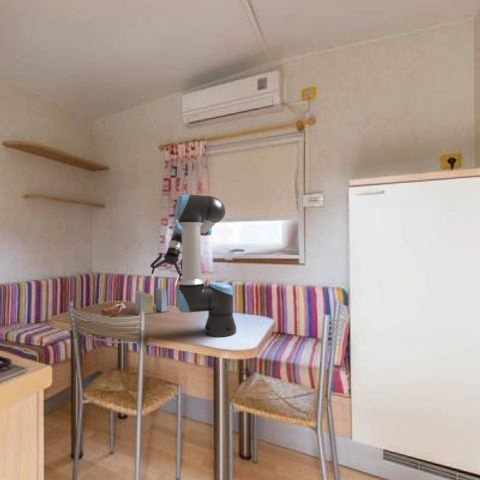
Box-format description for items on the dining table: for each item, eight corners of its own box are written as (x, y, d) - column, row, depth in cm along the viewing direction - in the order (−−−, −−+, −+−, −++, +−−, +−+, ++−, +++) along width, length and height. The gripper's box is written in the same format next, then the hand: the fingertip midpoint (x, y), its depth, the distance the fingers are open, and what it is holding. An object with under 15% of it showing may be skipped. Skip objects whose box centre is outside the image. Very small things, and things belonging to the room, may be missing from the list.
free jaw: (160, 307, 179) (160, 288, 179) (166, 311, 171) (166, 290, 171) (155, 308, 178) (155, 288, 177) (161, 311, 169) (161, 291, 169)
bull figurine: (126, 317, 163) (127, 303, 163) (102, 323, 153) (102, 307, 153) (123, 316, 166) (123, 301, 166) (98, 321, 156) (98, 306, 156)
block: (148, 310, 174) (148, 293, 174) (152, 313, 168) (152, 295, 167) (141, 311, 172) (141, 294, 172) (145, 314, 165) (145, 296, 165)
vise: (162, 309, 181) (162, 288, 180) (169, 313, 172) (169, 291, 171) (134, 313, 171) (134, 291, 171) (139, 318, 162) (139, 294, 162)
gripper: (193, 257, 183) (184, 289, 174) (153, 245, 178) (141, 278, 169) (195, 253, 176) (185, 286, 167) (154, 241, 171) (142, 275, 162)
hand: (163, 282), depth 168 cm, fingers open, 13 cm apart
